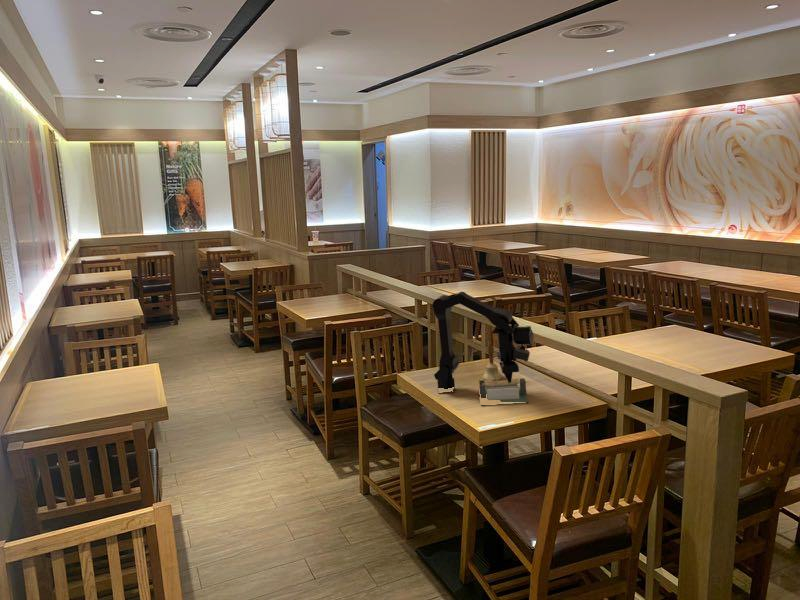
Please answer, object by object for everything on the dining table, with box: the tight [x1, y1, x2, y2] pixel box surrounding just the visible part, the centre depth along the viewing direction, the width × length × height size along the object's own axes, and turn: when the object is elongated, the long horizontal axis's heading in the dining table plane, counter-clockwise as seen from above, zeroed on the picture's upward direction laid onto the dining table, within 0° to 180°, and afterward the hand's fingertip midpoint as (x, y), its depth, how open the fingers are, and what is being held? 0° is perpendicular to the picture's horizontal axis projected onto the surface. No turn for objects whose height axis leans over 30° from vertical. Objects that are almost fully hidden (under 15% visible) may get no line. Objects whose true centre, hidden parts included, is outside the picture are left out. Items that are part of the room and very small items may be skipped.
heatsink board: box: [478, 377, 529, 403], centre depth 232 cm, size 18×14×6 cm
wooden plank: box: [482, 378, 520, 388], centre depth 232 cm, size 14×3×1 cm, turn 86°
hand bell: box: [482, 341, 503, 381], centre depth 251 cm, size 8×8×16 cm
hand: (509, 381), depth 231 cm, fingers closed, pressing on wooden plank
